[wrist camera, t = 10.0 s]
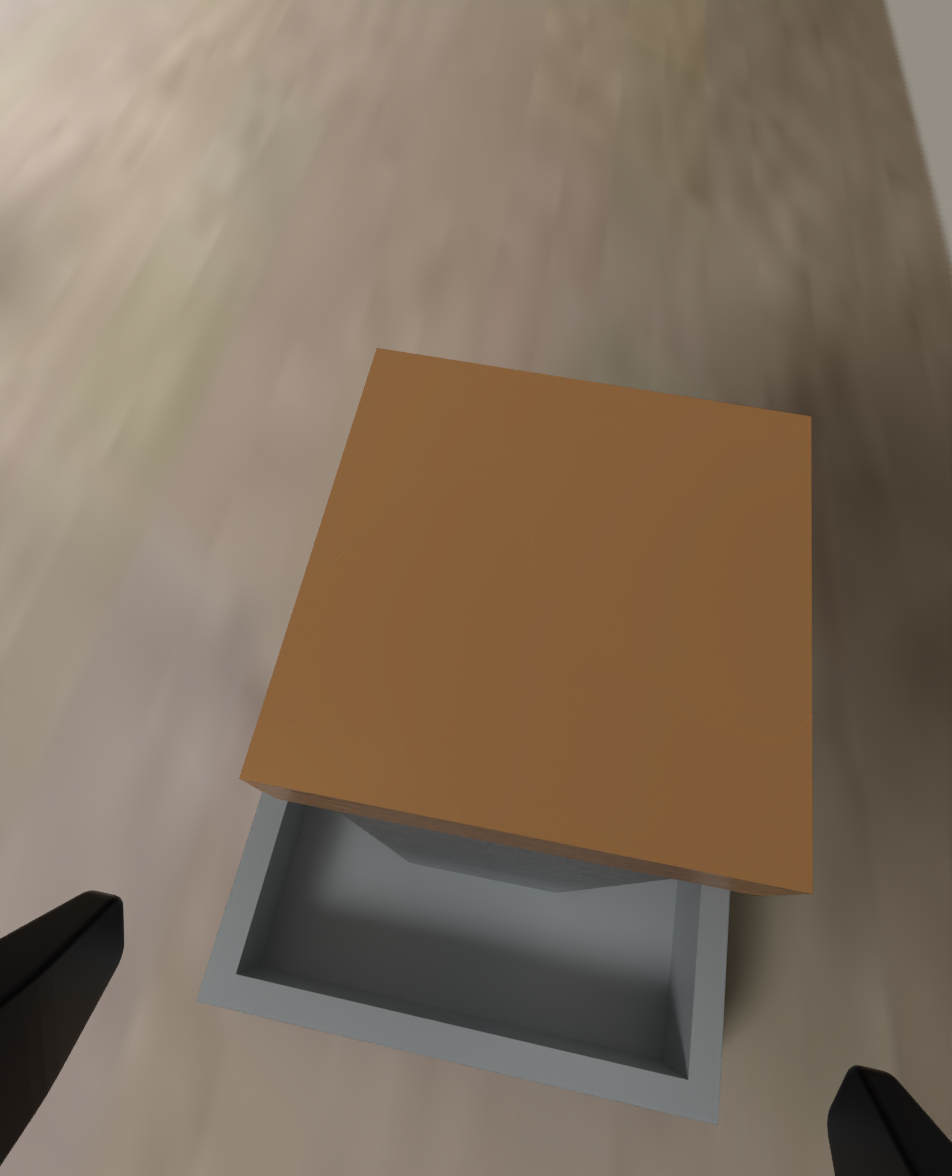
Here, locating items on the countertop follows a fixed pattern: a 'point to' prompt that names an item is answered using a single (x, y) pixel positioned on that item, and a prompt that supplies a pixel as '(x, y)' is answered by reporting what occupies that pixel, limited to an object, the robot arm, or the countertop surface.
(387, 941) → the tray
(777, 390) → the countertop surface
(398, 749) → the pin
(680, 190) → the countertop surface
